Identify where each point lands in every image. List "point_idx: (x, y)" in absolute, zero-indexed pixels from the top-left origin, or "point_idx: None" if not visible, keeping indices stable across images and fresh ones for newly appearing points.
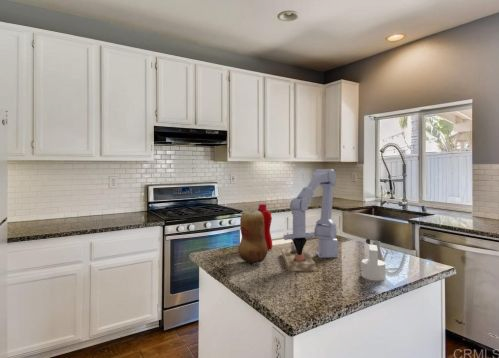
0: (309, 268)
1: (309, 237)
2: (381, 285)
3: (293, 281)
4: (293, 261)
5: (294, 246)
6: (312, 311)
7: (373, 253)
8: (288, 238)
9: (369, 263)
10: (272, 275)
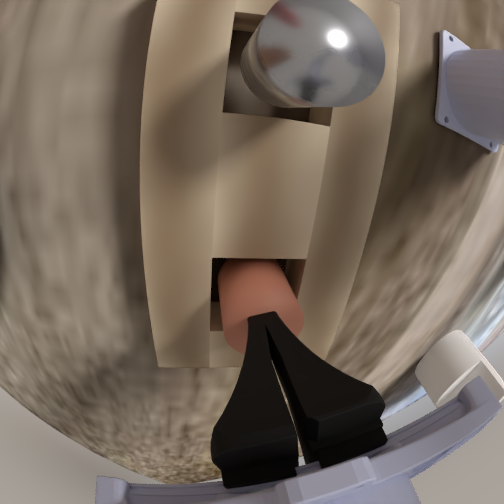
0: None
1: (429, 421)
2: (407, 397)
3: (180, 415)
4: (200, 330)
5: (288, 99)
6: (206, 476)
7: None
8: (157, 498)
9: (444, 399)
10: (92, 372)
